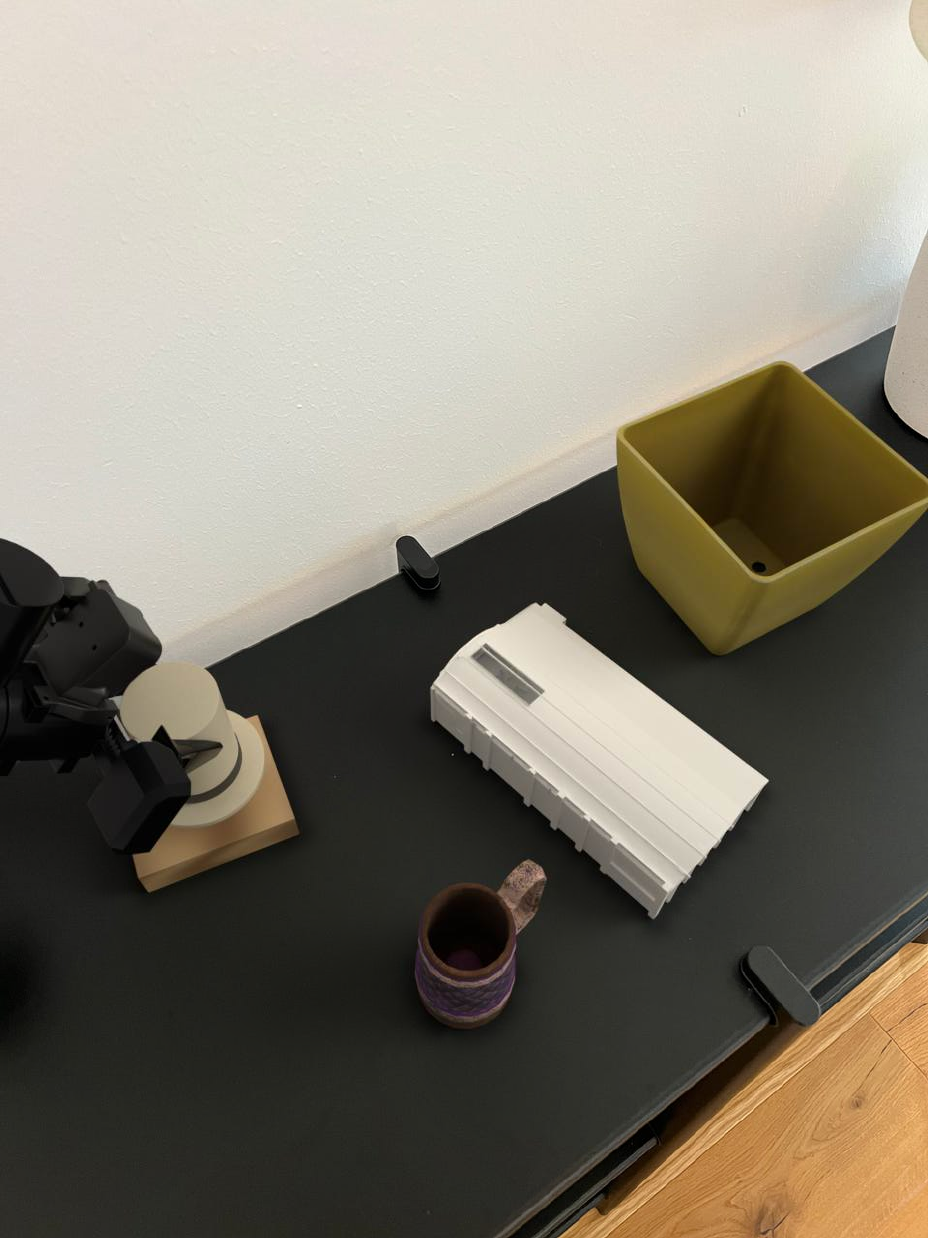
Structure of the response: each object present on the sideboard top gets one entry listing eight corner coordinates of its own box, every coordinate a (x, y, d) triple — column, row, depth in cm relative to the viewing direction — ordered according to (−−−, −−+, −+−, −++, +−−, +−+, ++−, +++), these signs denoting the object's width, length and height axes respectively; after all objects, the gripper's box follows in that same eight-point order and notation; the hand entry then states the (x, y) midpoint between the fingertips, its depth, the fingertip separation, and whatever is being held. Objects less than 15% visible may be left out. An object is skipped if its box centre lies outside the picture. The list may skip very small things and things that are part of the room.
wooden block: (148, 893, 72) (138, 878, 70) (120, 783, 78) (110, 766, 75) (299, 834, 75) (294, 818, 73) (263, 732, 81) (257, 714, 78)
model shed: (767, 797, 78) (793, 758, 72) (658, 924, 71) (676, 891, 66) (540, 622, 88) (546, 575, 82) (426, 719, 82) (425, 676, 76)
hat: (206, 853, 68) (176, 794, 60) (102, 786, 71) (61, 722, 63) (292, 748, 73) (274, 681, 65) (191, 690, 76) (163, 619, 68)
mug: (457, 1054, 66) (460, 1009, 56) (395, 972, 69) (388, 917, 59) (565, 959, 70) (584, 902, 60) (501, 886, 73) (511, 821, 63)
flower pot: (709, 703, 83) (761, 584, 69) (586, 556, 93) (611, 427, 79) (868, 617, 89) (945, 492, 75) (737, 487, 98) (784, 356, 85)
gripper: (114, 729, 47) (326, 728, 60) (-15, 503, 56) (194, 544, 69) (16, 876, 51) (236, 845, 64) (-91, 641, 60) (122, 656, 73)
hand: (197, 714), depth 67 cm, fingers closed on hat, 6 cm apart
